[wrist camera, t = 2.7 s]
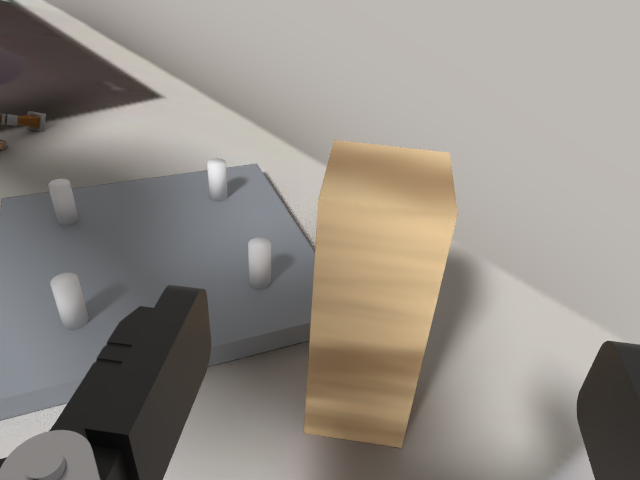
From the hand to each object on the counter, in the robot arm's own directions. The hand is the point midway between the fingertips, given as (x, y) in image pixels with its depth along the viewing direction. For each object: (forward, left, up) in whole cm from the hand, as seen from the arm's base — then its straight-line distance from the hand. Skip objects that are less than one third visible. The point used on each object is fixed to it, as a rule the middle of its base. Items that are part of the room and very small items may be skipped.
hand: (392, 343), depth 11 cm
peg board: (-2, +25, -16) cm, 30 cm away
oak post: (+6, +10, -16) cm, 20 cm away
